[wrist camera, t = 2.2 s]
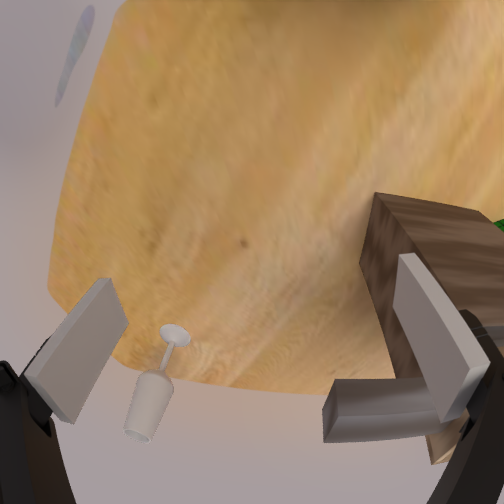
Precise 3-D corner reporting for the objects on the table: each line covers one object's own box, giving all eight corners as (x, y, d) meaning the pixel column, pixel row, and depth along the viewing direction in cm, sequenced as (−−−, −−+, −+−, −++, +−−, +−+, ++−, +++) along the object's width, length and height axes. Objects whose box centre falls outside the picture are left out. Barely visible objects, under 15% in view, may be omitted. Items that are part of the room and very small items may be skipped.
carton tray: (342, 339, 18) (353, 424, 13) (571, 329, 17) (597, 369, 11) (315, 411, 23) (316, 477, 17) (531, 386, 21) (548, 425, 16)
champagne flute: (194, 331, 58) (159, 437, 38) (186, 351, 62) (154, 449, 41) (162, 319, 58) (117, 420, 37) (157, 339, 61) (117, 435, 40)
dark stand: (375, 192, 42) (473, 338, 16) (478, 210, 40) (588, 325, 15) (359, 262, 47) (408, 428, 22) (457, 271, 46) (534, 400, 21)
